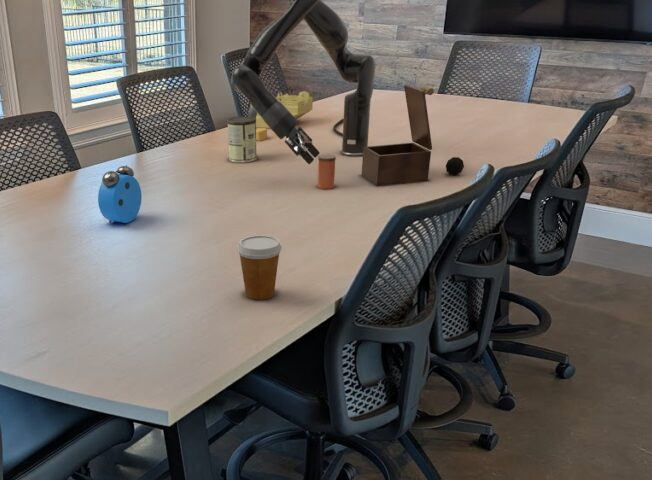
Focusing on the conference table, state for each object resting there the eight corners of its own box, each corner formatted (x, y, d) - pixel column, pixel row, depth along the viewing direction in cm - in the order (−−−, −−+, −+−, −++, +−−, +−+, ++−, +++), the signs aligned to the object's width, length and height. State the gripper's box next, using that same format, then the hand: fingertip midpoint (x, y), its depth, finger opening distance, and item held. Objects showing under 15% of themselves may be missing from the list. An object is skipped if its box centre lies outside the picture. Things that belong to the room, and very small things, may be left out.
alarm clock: (127, 213, 213) (122, 162, 205) (144, 215, 210) (139, 164, 203) (100, 226, 203) (93, 173, 196) (118, 229, 201) (111, 175, 193)
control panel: (244, 92, 304) (265, 80, 317) (242, 129, 314) (262, 116, 328) (296, 104, 296) (315, 91, 309) (291, 142, 306) (310, 128, 320)
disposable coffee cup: (253, 282, 165) (252, 232, 159) (289, 290, 160) (289, 239, 154) (230, 297, 159) (228, 245, 152) (266, 306, 154) (266, 253, 148)
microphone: (451, 170, 251) (447, 178, 234) (448, 153, 249) (443, 160, 232) (468, 166, 249) (464, 173, 232) (464, 149, 247) (461, 155, 230)
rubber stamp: (239, 138, 293) (238, 107, 287) (247, 135, 297) (246, 104, 291) (259, 140, 288) (258, 109, 281) (267, 138, 292) (267, 106, 285)
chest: (376, 186, 228) (378, 156, 223) (361, 175, 239) (363, 146, 234) (427, 181, 230) (431, 151, 226) (410, 170, 241) (413, 142, 237)
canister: (315, 185, 231) (316, 155, 226) (331, 183, 232) (332, 153, 227) (320, 189, 226) (321, 159, 221) (336, 188, 227) (338, 157, 222)
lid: (422, 91, 215) (439, 85, 216) (403, 85, 227) (420, 79, 227) (430, 150, 225) (446, 144, 225) (412, 141, 236) (427, 135, 237)
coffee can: (235, 155, 269) (234, 115, 262) (261, 156, 265) (260, 116, 258) (224, 161, 261) (222, 121, 254) (250, 163, 257) (249, 122, 250)
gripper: (282, 115, 215) (318, 156, 218) (293, 106, 227) (327, 145, 229) (265, 133, 219) (301, 172, 222) (277, 123, 231) (311, 161, 234)
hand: (314, 158), depth 226 cm, fingers open, 8 cm apart
